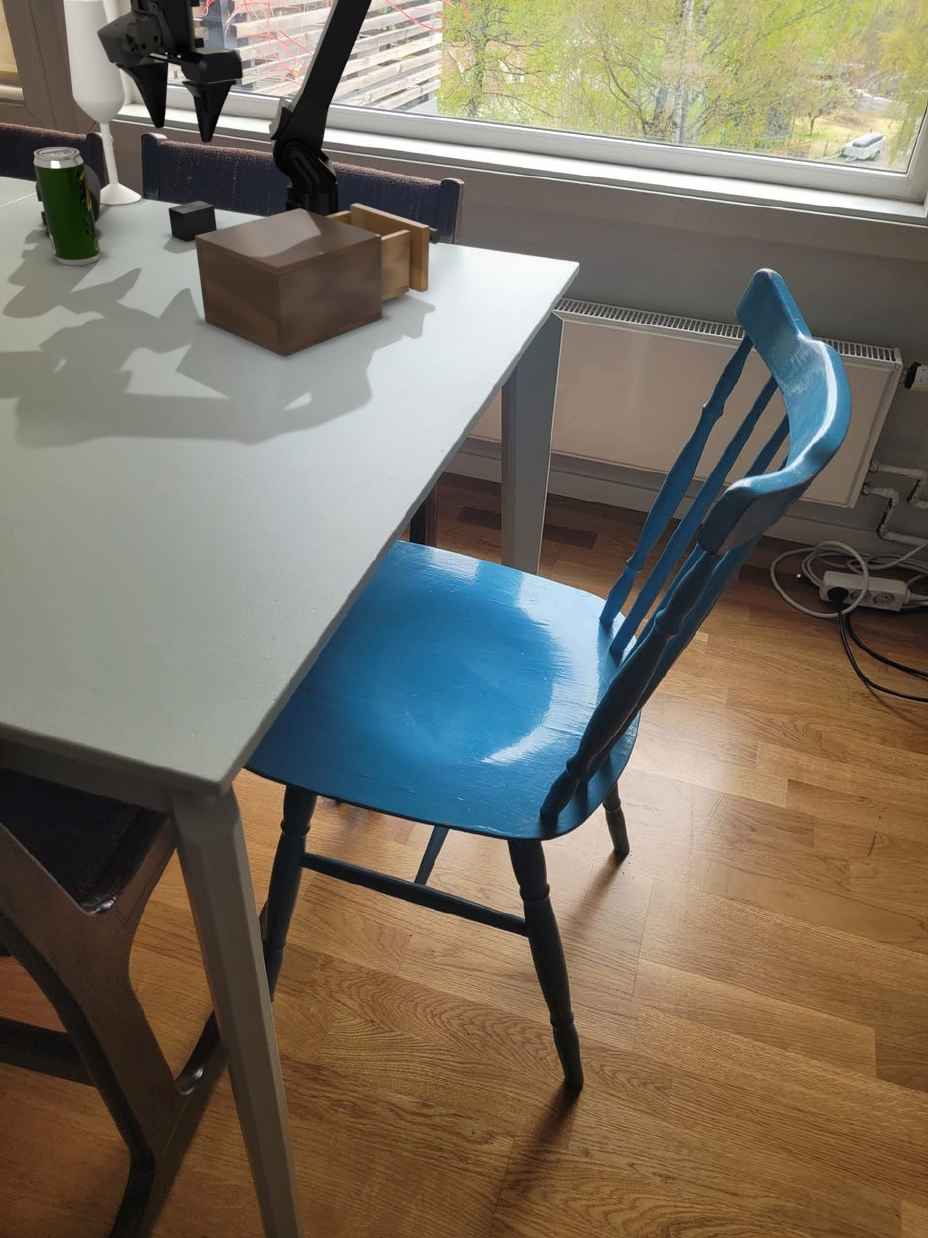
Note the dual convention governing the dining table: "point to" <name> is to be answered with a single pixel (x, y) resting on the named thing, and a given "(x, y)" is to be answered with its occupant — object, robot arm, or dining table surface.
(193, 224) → the black block
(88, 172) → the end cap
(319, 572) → the dining table surface
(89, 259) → the beer can
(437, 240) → the drawer
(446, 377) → the dining table surface
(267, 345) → the cabinet
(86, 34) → the champagne flute
